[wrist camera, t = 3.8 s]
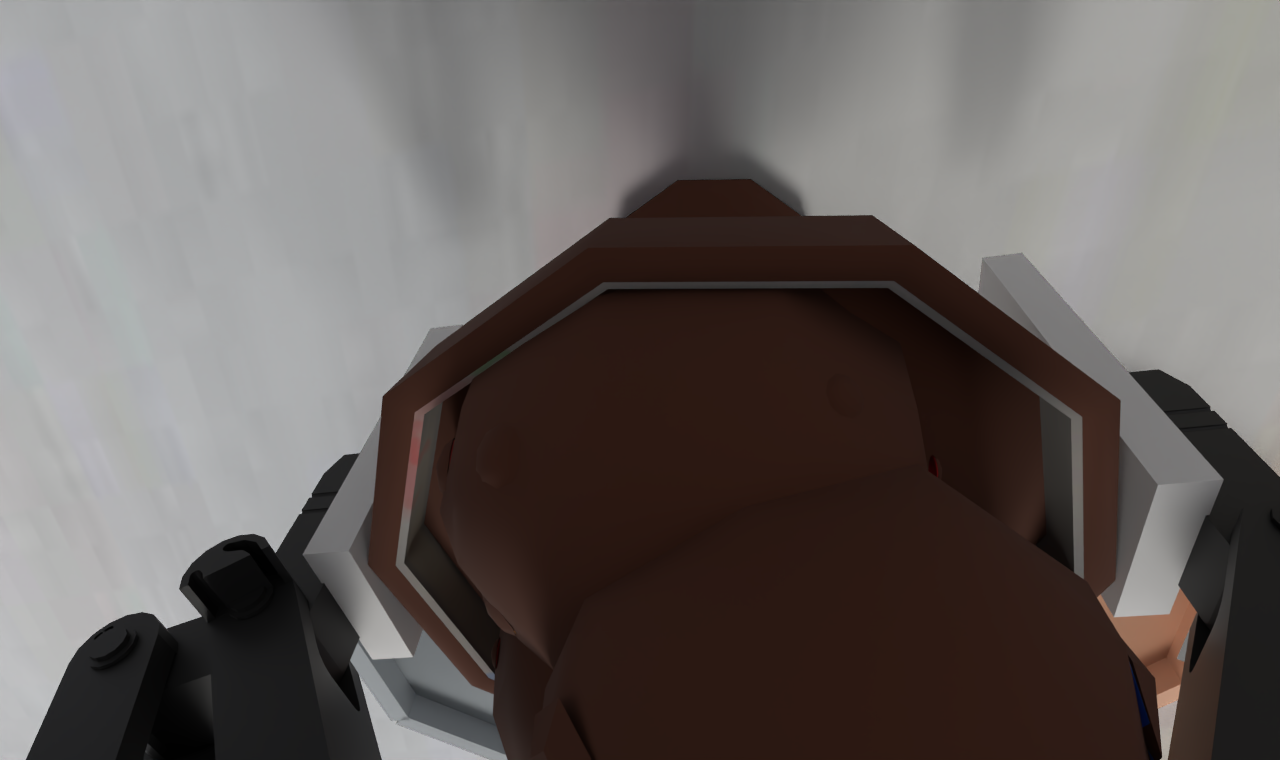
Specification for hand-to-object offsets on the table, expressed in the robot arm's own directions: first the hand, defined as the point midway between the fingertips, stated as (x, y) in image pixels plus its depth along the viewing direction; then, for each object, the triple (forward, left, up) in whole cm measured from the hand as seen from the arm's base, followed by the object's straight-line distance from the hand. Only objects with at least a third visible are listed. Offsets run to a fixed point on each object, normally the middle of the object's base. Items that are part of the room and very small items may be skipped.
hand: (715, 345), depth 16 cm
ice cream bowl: (0, 0, -3) cm, 3 cm away
